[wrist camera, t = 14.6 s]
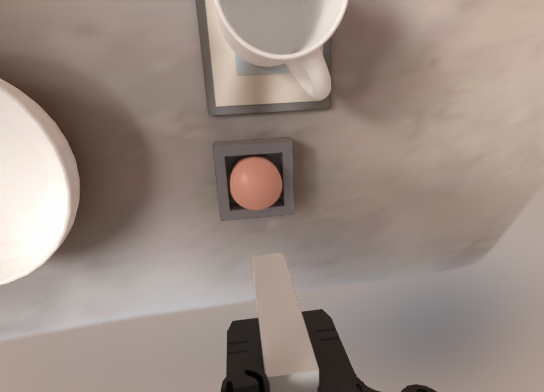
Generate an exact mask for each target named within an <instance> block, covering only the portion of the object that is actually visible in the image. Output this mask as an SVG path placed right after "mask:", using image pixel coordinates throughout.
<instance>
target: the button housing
mask: <svg viewBox="0 0 544 392" xmlns="http://www.w3.org/2000/svg"><path fill="white" fill-rule="evenodd" d="M254 154H262V155H265V156H267V157H268V158H270V159H271V160H272V161H273V163H274V164H275V166H276V168H277V170H278V172H279V173H280V176H281V179H282V191H281V194H280V196H279V198H278V199H277V201H276V202H275V203H274V204H272V205H271V206H269V207H268V208H265V209H262V210H249V209H246V208H244V207H242V206H240V205H239V204H238V203H237V202H236V201H235V200H234V198H233V196H232V194H231V190H230V174H231V169H232V167H233V165H234V163H235V162H236V161H237V160H238V159H239V158H241V157H242V156H244V155H254ZM213 155H214V164H215V173H216V182H217V191H218V200H219V209H220V218H221V221H224V220H235V219H247V218H258V217H269V216H280V215H291V214H294V182H293V142H292V140H290V139H289V138H288V137H285V138H270V139H255V140H240V141H225V142H214V144H213Z"/></svg>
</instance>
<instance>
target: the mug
mask: <svg viewBox="0 0 544 392" xmlns="http://www.w3.org/2000/svg"><path fill="white" fill-rule="evenodd" d="M348 1H349V0H214V3H215V7H216V12H217V16H218V20H219V25H220V28H221V31H222V34H223V36H224V38H225V40H226V42H227V43H228V45H229V46H230V48H231V49H232V50H233V51H234V52H235V53H236V54H237V55H238V56H239V57H240V58H242V59H243V60H245V61H247V62H249V63H251V64H254V65H257V66H262V67H271V66H277V65H281V64H284V63H285V64H286V65H287V67H288V69H289V70H290V72H291V73H292V75H293V77H294V78H295V79H296V81H297V82H298V84H299V85H300V86H301V87H302V89H303V90H304V91H305V92H306V93H307V94H308V95H309V96H310V97H312V98H314V99H316V100H322V99H325V98H326V97H327V96H328V95H329V93H330V91H331V78H330V74H329V71H328V68H327V65H326V62H325V60H324V57H323V55H322V52H321V50H320V48H319V47H321V46H322V45H323V44H324V43H325V42H326V41H327V40H328V39H329V38H330V37H331V36H332V35H333V33H334V32H335V31H336V29H337V27H338V26H339V24H340V23H341V20H342V18H343V16H344V14H345V11H346V8H347V5H348Z"/></svg>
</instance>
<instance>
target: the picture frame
mask: <svg viewBox="0 0 544 392" xmlns="http://www.w3.org/2000/svg"><path fill="white" fill-rule="evenodd" d="M196 7H197V16H198V25H199V34H200V43H201V52H202V61H203V70H204V79H205V88H206V97H207V106H208V115H209V116H210V115H227V114H244V113H261V112H278V111H295V110H312V109H329V108H330V93H329V95H328V96H327V97H326V98H325V99H322V100H316V99H314V98H312V97H310V96H309V95H308V94H307V93H306V92H305V91H304V90H303V89H302V87H301V86H300V85H299V84H298V82H297V81H296V79H295V78H294V77H293V75H292V73H291V72H290V70H289V69H288V67H287V65H286V64H285V63H284V64H281V65H277V66H271V67H262V66H257V65H254V64H251V63H249V62H247V61H245V60H243V59H242V58H240V57H239V56H238V55H237V54H236V53H235V52H234V51H233V50H232V49H231V48H230V46H229V45H228V43H227V42H226V40H225V38H224V36H223V34H222V31H221V28H220V25H219V20H218V16H217V12H216V7H215V3H214V0H196ZM319 48H320V50H321V52H322V55H323V57H324V60H325V62H326V65H327V68H328V71H329V74H330V66H331V37H330V38H329V39H328V40H327V41H326V42H325V43H324V44H323V45H322V46H321V47H319Z"/></svg>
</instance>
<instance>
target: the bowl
mask: <svg viewBox="0 0 544 392" xmlns="http://www.w3.org/2000/svg"><path fill="white" fill-rule="evenodd" d="M79 198H80V178H79V173H78V168H77V163H76V160H75V157H74V155H73V153H72V150H71V148H70V146H69V143H68V141H67V140H66V138H65V137H64V135H63V134H62V132H61V131H60V129H59V127H58V126H57V124H56V123H55V122H54V121H53V120H52V119H51V117H50V116H49V115H48V114H47V113H46V112H45V111H44V110H43V109H42V108H41V107H40V106H39V105H38V104H37V103H36V102H34V101H33V100H32V99H31V98H29V97H28V96H27V95H26V94H24V93H23V92H22V91H20V90H19V89H18V88H16V87H14V86H13V85H11V84H9V83H7V82H6V81H4V80H2V79H0V285H2V284H7V283H10V282H13V281H15V280H17V279H20V278H22V277H24V276H27V275H29V274H30V273H32V272H33V271H35V270H36V269H37V268H39V267H40V266H42V265H43V264H45V263H46V262H47V261H48V259H49V258H50V257H51V256H52V255H53V254H54V253H55V252H56V251H57V249H58V248H59V247H60V246H61V244H62V243H63V241H64V240H65V239H66V237H67V235H68V233H69V231H70V229H71V227H72V226H73V224H74V221H75V217H76V213H77V209H78V205H79Z"/></svg>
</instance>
